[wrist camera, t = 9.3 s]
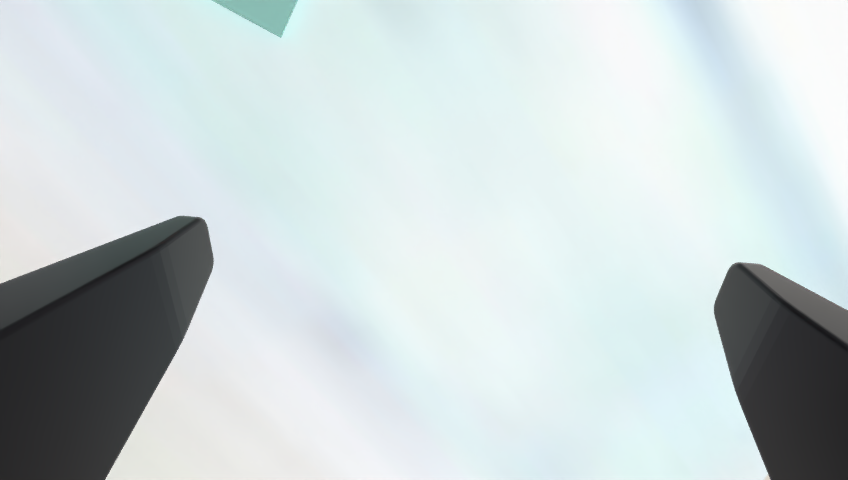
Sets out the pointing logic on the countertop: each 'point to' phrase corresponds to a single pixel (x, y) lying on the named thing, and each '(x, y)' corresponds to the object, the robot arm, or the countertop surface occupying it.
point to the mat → (263, 12)
